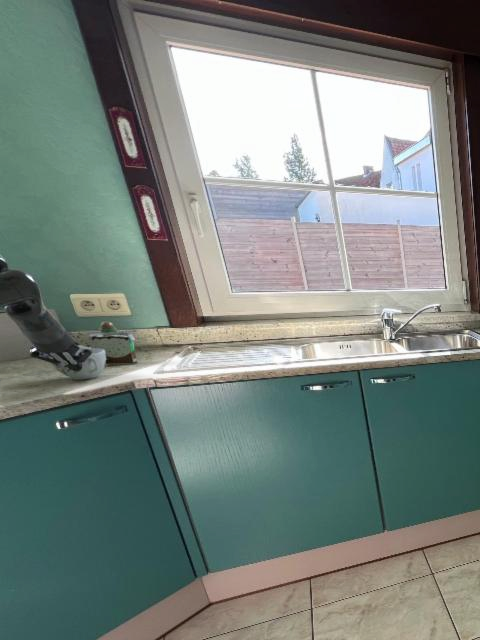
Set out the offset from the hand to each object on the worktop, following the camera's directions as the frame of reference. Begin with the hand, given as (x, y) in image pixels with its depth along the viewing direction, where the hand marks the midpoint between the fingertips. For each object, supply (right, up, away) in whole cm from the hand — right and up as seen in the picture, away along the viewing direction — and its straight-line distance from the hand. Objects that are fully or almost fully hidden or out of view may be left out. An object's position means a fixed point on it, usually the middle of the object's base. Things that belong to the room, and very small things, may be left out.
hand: (77, 368), depth 143 cm
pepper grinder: (-25, +11, +37) cm, 46 cm away
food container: (-13, +6, +27) cm, 31 cm away
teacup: (-3, -2, +6) cm, 7 cm away
